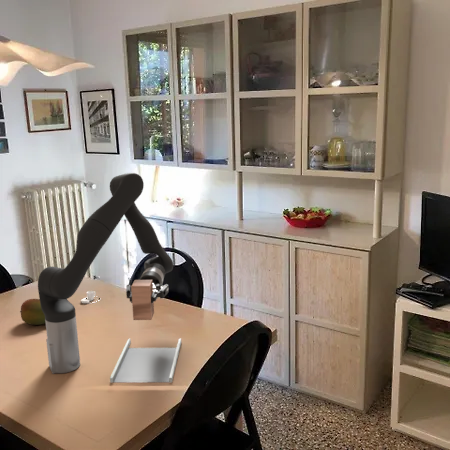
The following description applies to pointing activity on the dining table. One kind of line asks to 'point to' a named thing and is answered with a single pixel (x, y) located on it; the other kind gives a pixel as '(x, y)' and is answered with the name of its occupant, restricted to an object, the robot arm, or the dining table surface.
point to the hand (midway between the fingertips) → (142, 300)
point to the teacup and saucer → (89, 297)
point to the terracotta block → (142, 299)
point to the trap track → (145, 364)
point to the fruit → (32, 312)
